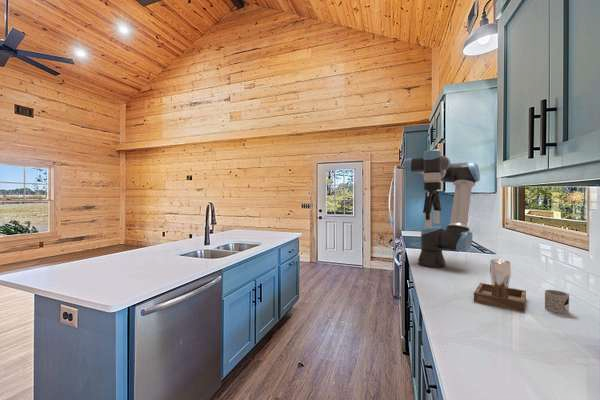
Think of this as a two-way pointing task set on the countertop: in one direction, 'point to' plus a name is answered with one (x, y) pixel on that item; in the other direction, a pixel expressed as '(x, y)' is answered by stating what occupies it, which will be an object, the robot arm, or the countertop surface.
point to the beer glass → (500, 277)
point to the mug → (557, 301)
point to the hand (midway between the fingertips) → (432, 225)
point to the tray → (514, 301)
